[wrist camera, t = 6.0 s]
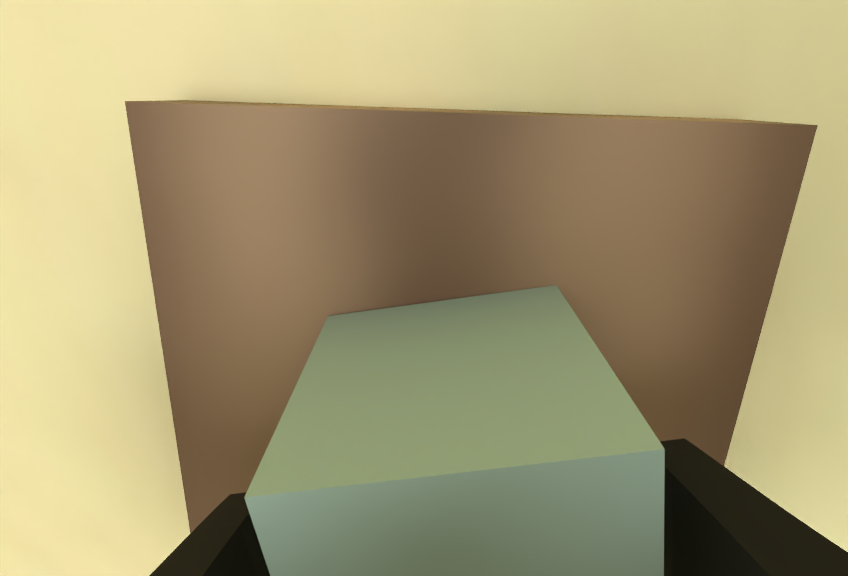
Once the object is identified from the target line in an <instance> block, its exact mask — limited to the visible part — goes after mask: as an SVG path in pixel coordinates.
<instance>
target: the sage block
mask: <svg viewBox="0 0 848 576" xmlns="http://www.w3.org/2000/svg"><path fill="white" fill-rule="evenodd" d="M664 475H665V449H664V447H663V446H662V444H661V443H660V441H659V440H658V438H657V437H656V435H655V434H654V432H653V431H652V429H651V428H650V426H649V425H648V423H647V422H646V420H645V419H644V417H643V415H642V414H641V412H640V411H639V409H638V408H637V406H636V405H635V403H634V402H633V400H632V399H631V397H630V396H629V394H628V393H627V391H626V390H625V388H624V387H623V385H622V384H621V382H620V381H619V379H618V378H617V376H616V375H615V373H614V372H613V370H612V369H611V367H610V365H609V364H608V362H607V361H606V359H605V358H604V356H603V355H602V353H601V352H600V350H599V349H598V347H597V346H596V344H595V343H594V341H593V340H592V338H591V337H590V335H589V334H588V332H587V331H586V329H585V328H584V326H583V325H582V323H581V322H580V320H579V319H578V317H577V315H576V314H575V312H574V311H573V309H572V308H571V306H570V305H569V303H568V302H567V300H566V299H565V297H564V296H563V294H562V293H561V291H560V290H559V288H558V287H557V285H553V286H546V287H538V288H531V289H523V290H516V291H509V292H501V293H494V294H487V295H479V296H472V297H465V298H457V299H450V300H443V301H435V302H428V303H420V304H413V305H406V306H398V307H391V308H384V309H376V310H369V311H362V312H354V313H347V314H339V315H332V316H328V317H327V319H326V321H325V323H324V326H323V328H322V330H321V332H320V334H319V336H318V339H317V341H316V343H315V345H314V347H313V349H312V352H311V354H310V356H309V358H308V360H307V362H306V365H305V367H304V369H303V371H302V373H301V375H300V378H299V380H298V382H297V384H296V386H295V388H294V391H293V393H292V395H291V397H290V399H289V401H288V404H287V406H286V408H285V410H284V412H283V414H282V417H281V419H280V421H279V423H278V425H277V427H276V430H275V432H274V434H273V436H272V438H271V441H270V443H269V445H268V447H267V449H266V451H265V454H264V456H263V458H262V460H261V462H260V464H259V467H258V469H257V471H256V473H255V475H254V477H253V480H252V482H251V484H250V486H249V488H248V490H247V493H246V495H245V497H244V498H245V501H246V504H247V507H248V510H249V513H250V516H251V519H252V522H253V525H254V528H255V531H256V534H257V537H258V540H259V543H260V546H261V549H262V552H263V555H264V558H265V561H266V564H267V567H268V570H269V573H270V576H664Z"/></svg>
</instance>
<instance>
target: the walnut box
mask: <svg viewBox="0 0 848 576" xmlns="http://www.w3.org/2000/svg"><path fill="white" fill-rule="evenodd" d="M125 105H126V111H127V118H128V124H129V131H130V137H131V144H132V151H133V157H134V164H135V170H136V177H137V184H138V190H139V197H140V203H141V210H142V217H143V223H144V230H145V236H146V243H147V249H148V256H149V263H150V269H151V276H152V282H153V289H154V296H155V302H156V309H157V315H158V322H159V329H160V335H161V342H162V348H163V355H164V361H165V368H166V375H167V381H168V388H169V394H170V401H171V408H172V414H173V421H174V427H175V434H176V440H177V447H178V454H179V460H180V467H181V473H182V480H183V487H184V493H185V500H186V506H187V513H188V520H189V526H190V533H192V532H193V530H194V529H195V528H196V527H197V526H198V525H199V524H200V523H201V522H202V521H203V520H204V519H205V518H206V517H207V516H208V515H209V514H210V513H211V512H212V511H213V510H214V509H215V508H216V507H217V506H218V505H219V504H220V503H221V502H222V501H224V500H225V499H226V498H227V497H228V496H229V495H230V494H236V493H244V492H247V490H248V488H249V486H250V484H251V482H252V480H253V477H254V475H255V473H256V471H257V469H258V467H259V464H260V462H261V460H262V458H263V456H264V454H265V451H266V449H267V447H268V445H269V443H270V441H271V438H272V436H273V434H274V432H275V430H276V427H277V425H278V423H279V421H280V419H281V417H282V414H283V412H284V410H285V408H286V406H287V404H288V401H289V399H290V397H291V395H292V393H293V391H294V388H295V386H296V384H297V382H298V380H299V378H300V375H301V373H302V371H303V369H304V367H305V365H306V362H307V360H308V358H309V356H310V354H311V352H312V349H313V347H314V345H315V343H316V341H317V339H318V336H319V334H320V332H321V330H322V328H323V326H324V323H325V321H326V319H327V317H328V316H332V315H339V314H347V313H354V312H362V311H369V310H376V309H384V308H391V307H398V306H406V305H413V304H420V303H428V302H435V301H443V300H450V299H457V298H465V297H472V296H479V295H487V294H494V293H501V292H509V291H516V290H523V289H531V288H538V287H546V286H553V285H557V287H558V288H559V290H560V291H561V293H562V294H563V296H564V297H565V299H566V300H567V302H568V303H569V305H570V306H571V308H572V309H573V311H574V312H575V314H576V315H577V317H578V319H579V320H580V322H581V323H582V325H583V326H584V328H585V329H586V331H587V332H588V334H589V335H590V337H591V338H592V340H593V341H594V343H595V344H596V346H597V347H598V349H599V350H600V352H601V353H602V355H603V356H604V358H605V359H606V361H607V362H608V364H609V365H610V367H611V369H612V370H613V372H614V373H615V375H616V376H617V378H618V379H619V381H620V382H621V384H622V385H623V387H624V388H625V390H626V391H627V393H628V394H629V396H630V397H631V399H632V400H633V402H634V403H635V405H636V406H637V408H638V409H639V411H640V412H641V414H642V415H643V417H644V419H645V420H646V422H647V423H648V425H649V426H650V428H651V429H652V431H653V432H654V434H655V435H656V437H657V438H658V440H659V441H667V440H675V439H683V438H685V439H686V440H688V441H689V442H691V443H692V444H693V445H695V446H696V447H698V448H699V449H700V450H702V451H703V452H705V453H706V454H707V455H709V456H710V457H712V458H713V459H714V460H716V461H717V462H718V463H720V464H721V465H723V466H724V464H725V460H726V456H727V453H728V449H729V445H730V442H731V438H732V435H733V431H734V427H735V424H736V420H737V416H738V413H739V409H740V405H741V402H742V398H743V394H744V391H745V387H746V384H747V380H748V376H749V373H750V369H751V365H752V362H753V358H754V354H755V351H756V347H757V344H758V340H759V336H760V333H761V329H762V325H763V322H764V318H765V314H766V311H767V307H768V303H769V300H770V296H771V293H772V289H773V285H774V282H775V278H776V274H777V271H778V267H779V263H780V260H781V256H782V253H783V249H784V245H785V242H786V238H787V234H788V231H789V227H790V223H791V220H792V216H793V212H794V209H795V205H796V202H797V198H798V194H799V191H800V187H801V183H802V180H803V176H804V172H805V169H806V165H807V162H808V158H809V154H810V151H811V147H812V143H813V140H814V136H815V132H816V129H817V125H805V124H792V123H778V122H765V121H752V120H738V119H709V118H680V117H651V116H622V115H593V114H564V113H535V112H507V111H478V110H449V109H420V108H391V107H362V106H333V105H305V104H276V103H247V102H218V101H189V100H180V101H125Z"/></svg>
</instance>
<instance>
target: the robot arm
mask: <svg viewBox="0 0 848 576" xmlns="http://www.w3.org/2000/svg"><path fill="white" fill-rule="evenodd" d="M660 443H661V444H662V446H663V447H664V449H665V475H664V576H848V552H846V551H845V550H843V549H842V548H840V547H839V546H837V545H836V544H834V543H833V542H831V541H830V540H828V539H827V538H825V537H824V536H822V535H821V534H819V533H818V532H816V531H815V530H813V529H812V528H810V527H809V526H807V525H806V524H805V523H803V522H802V521H800V520H799V519H797V518H796V517H794V516H793V515H791V514H790V513H789V512H787V511H786V510H784V509H783V508H781V507H780V506H779V505H777V504H776V503H774V502H773V501H771V500H770V499H769V498H767V497H766V496H764V495H763V494H762V493H760V492H759V491H757V490H756V489H755V488H753V487H752V486H750V485H749V484H748V483H746V482H745V481H743V480H742V479H741V478H739V477H738V476H736V475H735V474H734V473H732V472H731V471H729V470H728V469H727V468H725V467H724V466H723V465H721V464H720V463H718V462H717V461H716V460H714V459H713V458H712V457H710V456H709V455H707V454H706V453H705V452H703V451H702V450H700V449H699V448H698V447H696V446H695V445H693V444H692V443H691V442H689V441H688V440H686V439H685V438H683V439H675V440H667V441H660ZM246 493H247V492H244V493H236V494H230V495H229V496H228V497H227V498H226V499H225V500H224V501H222V502H221V503H220V504H219V505H218V506H217V507H216V508H215V509H214V510H213V511H212V512H211V513H210V514H209V515H208V516H207V517H206V518H205V519H204V520H203V521H202V522H201V523H200V524H199V525H198V526H197V527H196V528H195V529H194V530H193V532H192V533H191V534H190V535H189V536H188V537H187V538H186V539H185V540H184V541H183V542H182V543H181V544H180V545H179V546H178V547H177V548H176V549H175V550H174V551H173V552H172V553H171V554H170V555H169V556H168V557H167V558H166V559H165V560H164V561H163V562H162V563H161V565H160V566H159V567H158V568H157V569H156V570H155V571H154V572H153V573H152V574H151V575H150V576H270V573H269V570H268V567H267V564H266V561H265V558H264V555H263V552H262V549H261V546H260V543H259V540H258V537H257V534H256V531H255V528H254V525H253V522H252V519H251V516H250V513H249V510H248V507H247V504H246V501H245V498H244V497H245V495H246Z"/></svg>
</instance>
